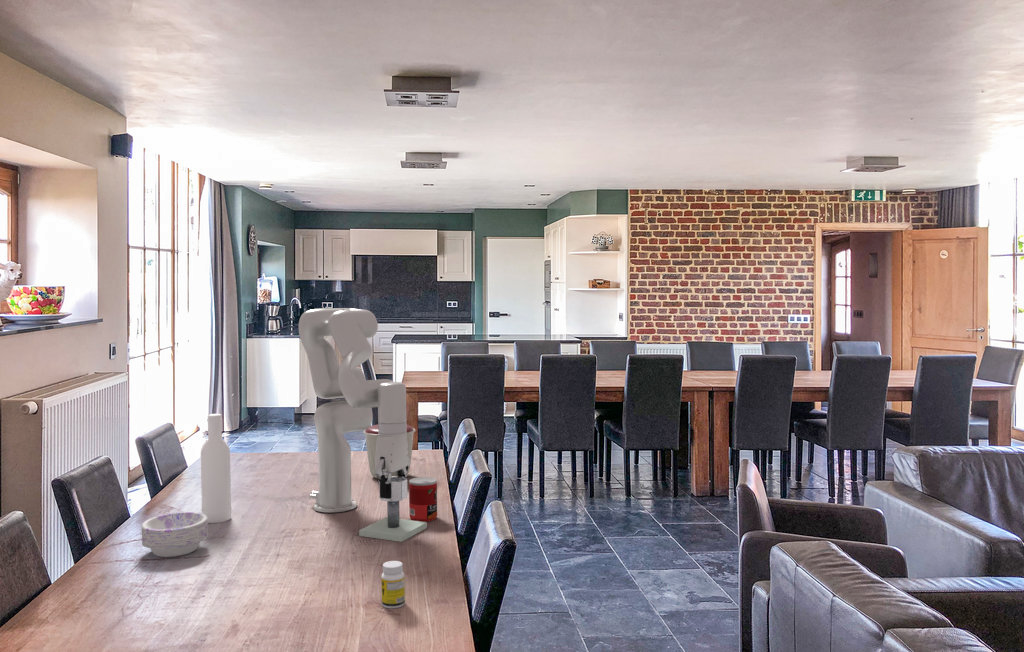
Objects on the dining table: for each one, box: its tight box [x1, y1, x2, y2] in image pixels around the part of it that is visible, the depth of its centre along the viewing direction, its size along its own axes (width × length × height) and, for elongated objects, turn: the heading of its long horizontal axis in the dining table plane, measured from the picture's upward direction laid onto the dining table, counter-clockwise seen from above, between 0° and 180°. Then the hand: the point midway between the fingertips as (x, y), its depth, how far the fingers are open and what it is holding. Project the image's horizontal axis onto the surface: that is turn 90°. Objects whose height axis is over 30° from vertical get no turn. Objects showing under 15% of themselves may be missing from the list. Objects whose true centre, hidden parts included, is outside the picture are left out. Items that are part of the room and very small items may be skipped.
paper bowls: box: [141, 511, 209, 558], centre depth 191 cm, size 15×15×8 cm
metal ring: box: [378, 476, 408, 502], centre depth 206 cm, size 7×7×5 cm
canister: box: [362, 424, 416, 480], centre depth 269 cm, size 18×18×21 cm
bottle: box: [200, 413, 233, 524], centre depth 218 cm, size 8×8×30 cm
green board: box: [358, 516, 428, 543], centre depth 206 cm, size 13×13×2 cm
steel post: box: [386, 501, 401, 528], centre depth 206 cm, size 3×3×7 cm
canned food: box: [408, 476, 438, 523], centre depth 219 cm, size 8×8×11 cm
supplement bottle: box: [380, 560, 406, 609], centre depth 157 cm, size 5×5×8 cm
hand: (393, 494), depth 206 cm, fingers closed on metal ring, 7 cm apart
